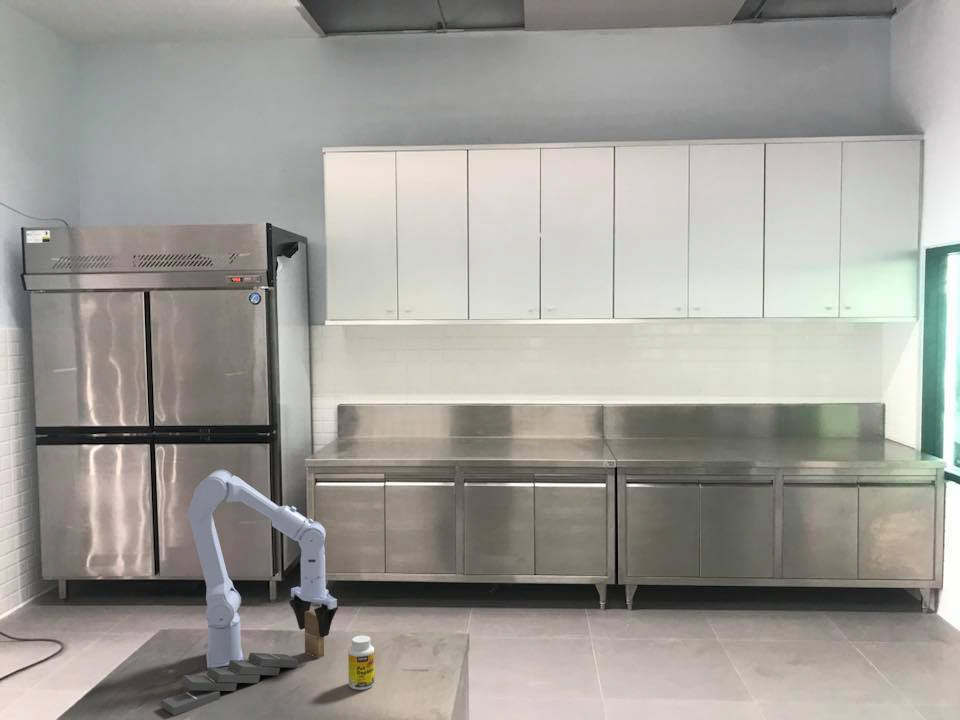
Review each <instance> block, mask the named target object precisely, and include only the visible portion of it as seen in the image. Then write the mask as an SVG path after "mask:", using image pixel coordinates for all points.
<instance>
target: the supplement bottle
mask: <svg viewBox="0 0 960 720" xmlns="http://www.w3.org/2000/svg"><path fill="white" fill-rule="evenodd" d="M371 643H372V641H371V637H370V636H368V635H357V636H355V637H353V638H352V639H351V646H350V647H349V648H348V652H347V653H348V685H349V687H350V688H351V689H353V690H358V691H365V690H367V689H370V688H372V687H373V686H374V684H375V648H374V646H373V645H372V644H371Z"/></svg>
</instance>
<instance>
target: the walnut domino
mask: <svg viewBox="0 0 960 720" xmlns="http://www.w3.org/2000/svg"><path fill="white" fill-rule="evenodd" d="M305 653H308V654H310V655H313V656H315V657H314V658H316V657H318V658H319V659H321V658H320V657H322V656H324V657H325V637H320V635H319V626H318V620H317V616H316V614H315V611H314V610H312V609H310V610H309V611H306V612H305V629H304V654H305ZM308 654H307V655H308ZM310 655H309V656H310ZM313 656H312V657H313ZM318 658H317V659H318ZM322 658H323V657H322Z"/></svg>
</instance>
